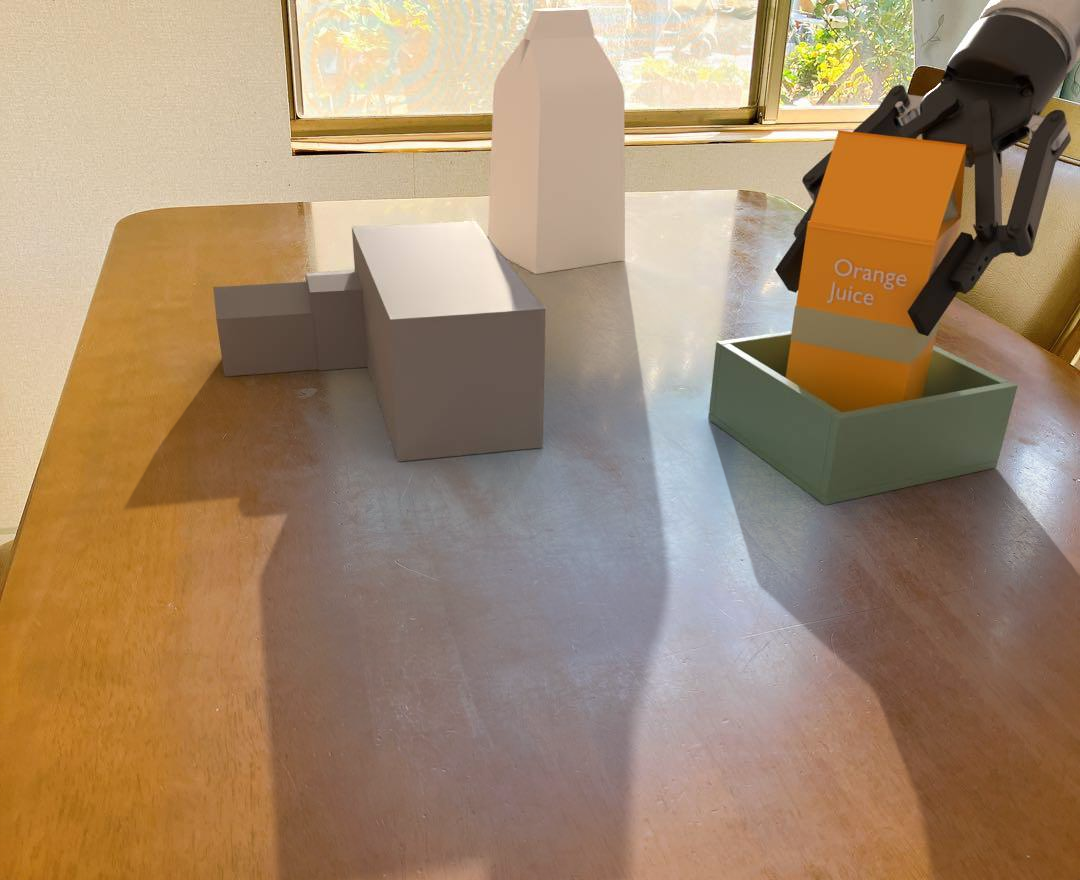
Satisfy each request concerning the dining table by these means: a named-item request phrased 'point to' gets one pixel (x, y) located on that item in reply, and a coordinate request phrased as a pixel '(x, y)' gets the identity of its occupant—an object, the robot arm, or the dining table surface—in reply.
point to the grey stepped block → (408, 336)
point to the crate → (858, 423)
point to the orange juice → (873, 268)
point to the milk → (558, 149)
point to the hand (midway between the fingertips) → (848, 301)
